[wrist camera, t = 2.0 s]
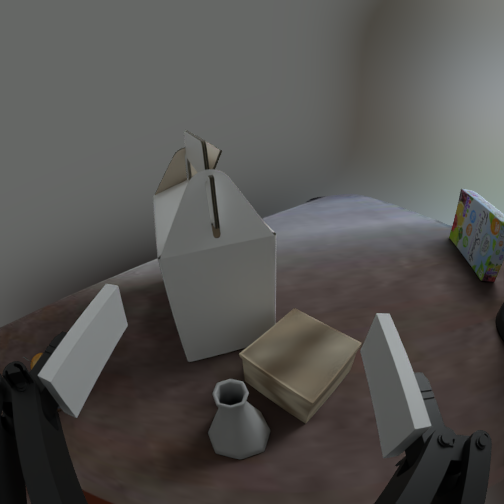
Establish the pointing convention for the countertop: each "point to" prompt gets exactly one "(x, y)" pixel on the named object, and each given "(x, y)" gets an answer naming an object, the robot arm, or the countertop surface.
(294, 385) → the beech box
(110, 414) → the countertop surface
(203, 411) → the countertop surface
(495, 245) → the snack box
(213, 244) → the gable box
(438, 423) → the robot arm
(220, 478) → the countertop surface
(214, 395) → the flask
